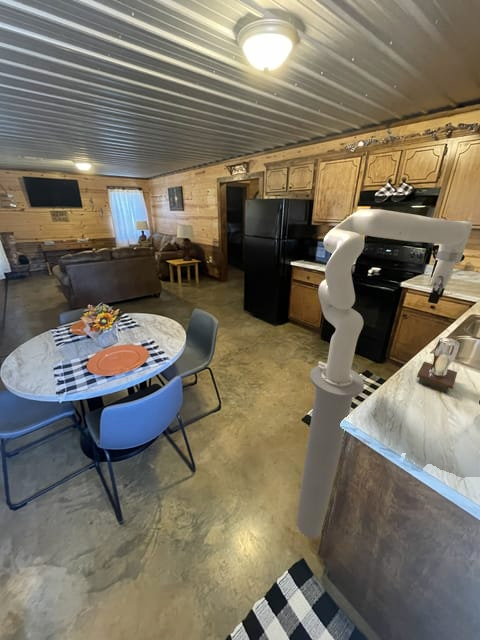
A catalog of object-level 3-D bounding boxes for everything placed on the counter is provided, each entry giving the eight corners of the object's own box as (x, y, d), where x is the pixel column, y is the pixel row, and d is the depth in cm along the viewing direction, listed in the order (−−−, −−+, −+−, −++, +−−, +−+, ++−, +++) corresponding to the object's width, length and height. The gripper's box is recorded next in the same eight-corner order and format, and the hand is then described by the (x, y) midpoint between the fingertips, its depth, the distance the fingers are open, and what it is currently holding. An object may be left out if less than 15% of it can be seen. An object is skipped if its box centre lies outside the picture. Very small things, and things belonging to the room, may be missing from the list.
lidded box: (414, 382, 111) (417, 373, 109) (421, 369, 119) (424, 361, 118) (449, 395, 103) (453, 386, 101) (453, 380, 112) (457, 372, 110)
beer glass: (445, 380, 105) (458, 347, 99) (425, 372, 110) (436, 341, 104) (449, 373, 109) (462, 341, 103) (430, 366, 114) (441, 335, 108)
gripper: (440, 252, 105) (427, 292, 112) (432, 258, 94) (419, 303, 101) (464, 254, 101) (449, 296, 108) (458, 261, 89) (442, 308, 96)
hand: (434, 299), depth 104 cm, fingers open, 9 cm apart
